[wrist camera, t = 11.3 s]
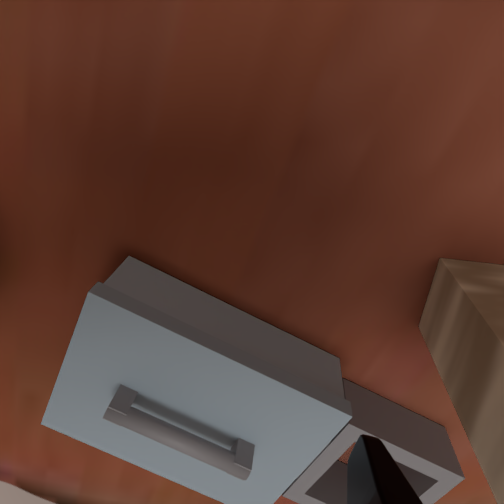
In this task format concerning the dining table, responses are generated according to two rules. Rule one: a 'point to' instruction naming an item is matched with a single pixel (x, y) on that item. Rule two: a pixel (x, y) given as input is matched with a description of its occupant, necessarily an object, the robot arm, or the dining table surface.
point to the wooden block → (471, 354)
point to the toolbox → (226, 399)
